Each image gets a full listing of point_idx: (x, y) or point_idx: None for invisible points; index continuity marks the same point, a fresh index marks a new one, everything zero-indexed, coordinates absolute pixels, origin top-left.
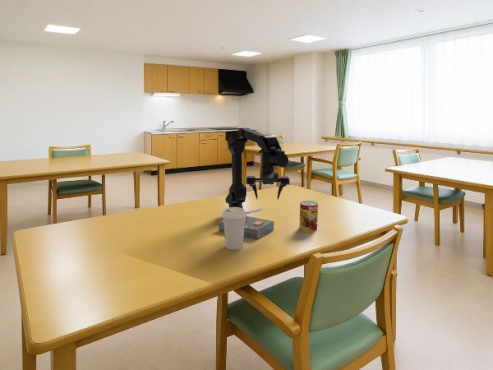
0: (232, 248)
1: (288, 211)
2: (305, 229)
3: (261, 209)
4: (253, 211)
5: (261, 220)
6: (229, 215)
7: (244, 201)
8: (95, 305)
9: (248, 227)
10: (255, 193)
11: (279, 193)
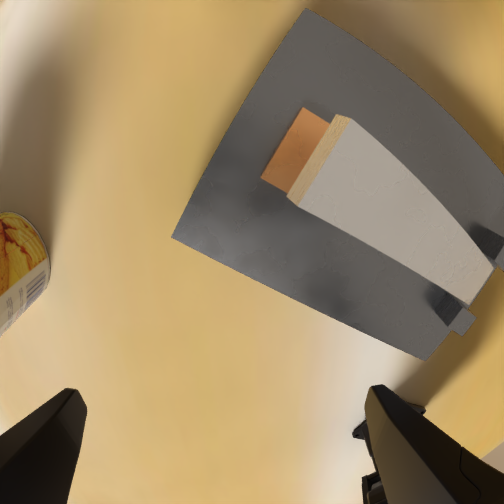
0: None
1: (153, 460)
2: (13, 217)
3: (297, 188)
4: (394, 157)
5: (276, 250)
6: None
7: (364, 479)
8: None
9: (378, 68)
10: (440, 439)
11: (12, 438)
